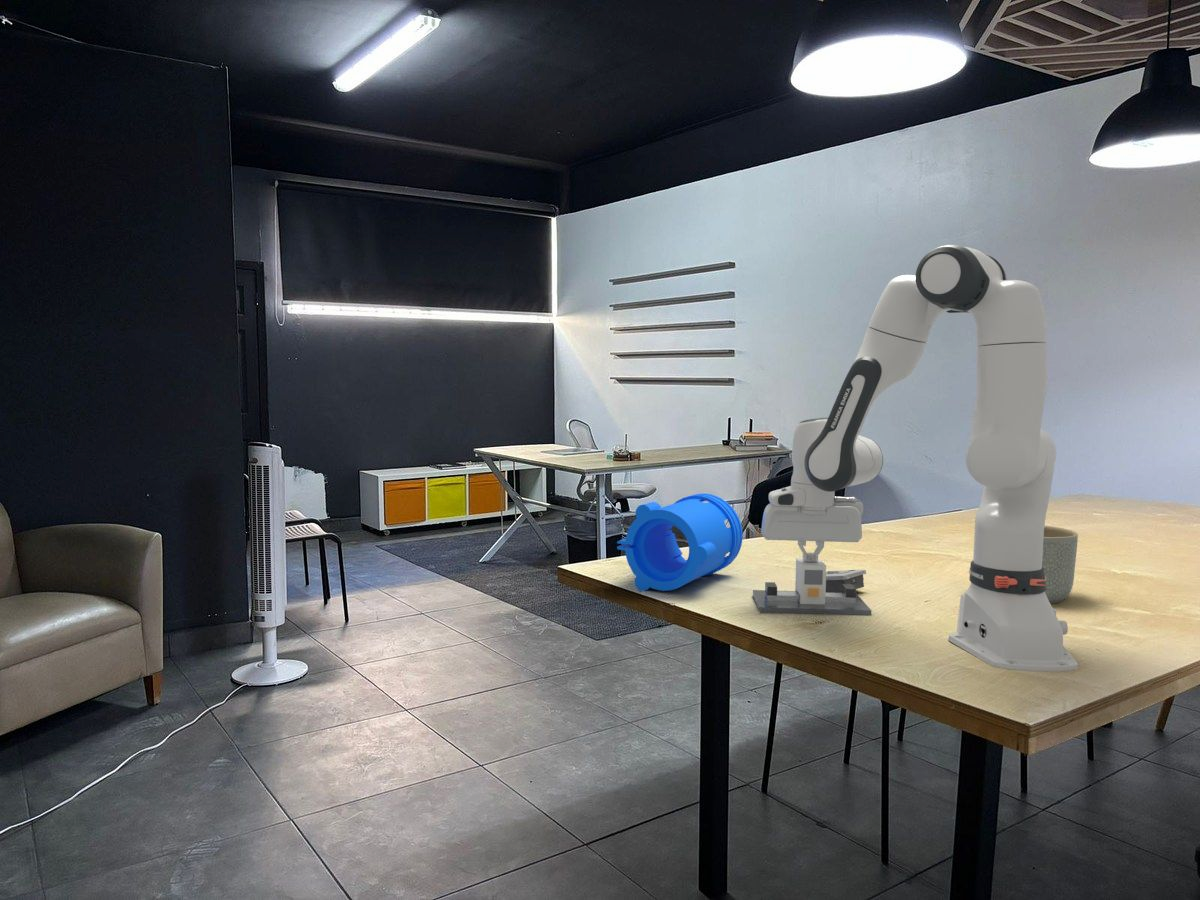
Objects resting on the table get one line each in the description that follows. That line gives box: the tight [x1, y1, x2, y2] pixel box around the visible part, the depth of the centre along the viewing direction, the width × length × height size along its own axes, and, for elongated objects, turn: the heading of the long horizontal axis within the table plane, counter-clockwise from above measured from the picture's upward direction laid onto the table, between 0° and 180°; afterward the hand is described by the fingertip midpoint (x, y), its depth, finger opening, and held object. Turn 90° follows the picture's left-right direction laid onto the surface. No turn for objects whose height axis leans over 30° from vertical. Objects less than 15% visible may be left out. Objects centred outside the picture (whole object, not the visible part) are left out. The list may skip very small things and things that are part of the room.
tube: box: [616, 493, 744, 592], centre depth 199 cm, size 25×22×19 cm
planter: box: [1042, 525, 1079, 605], centre depth 186 cm, size 17×17×15 cm
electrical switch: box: [826, 569, 867, 592], centre depth 190 cm, size 9×5×9 cm
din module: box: [794, 557, 827, 604], centre depth 178 cm, size 8×5×8 cm, turn 176°
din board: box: [752, 581, 872, 616], centre depth 179 cm, size 14×22×4 cm, turn 86°
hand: (810, 561), depth 178 cm, fingers closed, pressing on din module
